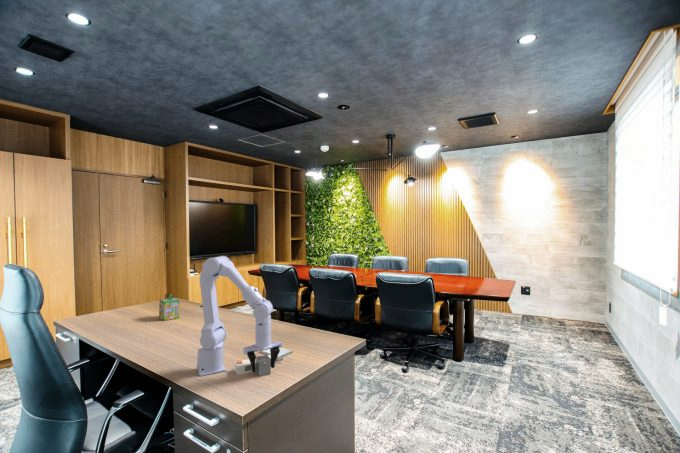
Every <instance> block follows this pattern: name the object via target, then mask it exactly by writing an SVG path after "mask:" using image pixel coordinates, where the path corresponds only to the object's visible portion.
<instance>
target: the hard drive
mask: <svg viewBox="0 0 680 453" xmlns="http://www.w3.org/2000/svg"><path fill="white" fill-rule="evenodd" d="M279 349H280V352H279V354H278V356H277V358H276V359H278V358H284V357H287V356H289V355H292V354H293V353H294V351H293V350H289V349H288V348H285V347H282V348H279ZM259 353H260V354H263V355H271V353H270V349H268V350H262V351H259Z"/></svg>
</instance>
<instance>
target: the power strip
mask: <svg viewBox="0 0 680 453" xmlns="http://www.w3.org/2000/svg"><path fill="white" fill-rule="evenodd" d="M268 357H269V358H270V359H271V355H268ZM283 360H284V357H282V358H276V361H275V365H274V368H275V367H276V366H277V362H280V361H283ZM233 364H234V365H233V366H234V369H233V370H234V372H235V374H236V375H237V376H239V375H244V374H248V373H254V372H253V371H252V367H251V363H250V360H249V358H248V359H243V360H242V359H239V360H236V361H234V363H233ZM271 369H273V368H272V367H271ZM255 372H256V359H255Z"/></svg>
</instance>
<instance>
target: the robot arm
mask: <svg viewBox="0 0 680 453" xmlns="http://www.w3.org/2000/svg"><path fill="white" fill-rule="evenodd" d="M201 266H202V269H201V272H200V274H199V288H200V295H201V303H202V312H203V320H204V324H203V326H202V328H201V331H200V332H201V334H200V335H201V336H200V339H199V342H200V345H201V347H200V348H198V349H197V354H196V355H197V364H196V369H197V371H198V375H199V377H202V376H207V375H210V374H216V373H220V372H225V371H227V369H226V367H225V365H224V341H225V340H226V338H227V335H228V334H227V330H226V329H225V327H224V323H223V322H222V321H221V320H220V314H219V306H218V305H219V304H218V295H217V288H216V287H217V286H216V280H217V279H218V278H219V277H226V278H228V279H229V280H230V281H231V282H232V283H233V285H234V286H236V288H238V289H239V291H240V292H241V297H242V299H243V300H244V301H245V303H247V304H248V306H249V307H250V308H251V309H252V310H253V311H252V315H253V316H254V317H255V344H252V345H248V346H245V347H243V348H242V350H243V354H244V355H246V356H247V357H248V359H249V360H250V363H251V367H252V371H253V372H252V373H256V371H255V359H256V357H257V355H256V353H255V352H260V351H262V350H268V349H270V353H271V367H272V368H271V369H274V368H275V367H274V365H275V361H276V359H278V358H277V356H278V354H279V352H280V349H279V348H283V342H282V341H281V340H279V341H272V315H271V313H273V311H274V306H273V303H272V302H271V301H270V300H267V299H266V298H265V297H263V295H262V294H261V293H260V292H259V289H258V288H257V287H255V286H253V285H249V284H248V283H247V281H246V280H245V278H244V277H243V276H242V275H241V273H240V271H238V269H237V268H236V267H235V264H234V262H233V261H231V260H230V258H229V257H227V256H226V255H220V256H216V257H215V256H214V257H208V258H207V259H206V260H205V261H204V262H203V263H201ZM276 362H277V361H276Z"/></svg>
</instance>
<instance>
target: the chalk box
mask: <svg viewBox="0 0 680 453" xmlns="http://www.w3.org/2000/svg"><path fill="white" fill-rule="evenodd" d="M158 303H159V307H158V308H159V309H158V310H159V311H158V312H159V313H158V318H159V319H160V320H161V319H162V320H161V321H163V320H166V321H170V320H169V319H172V320H176V319H175V318H179V319H180V299H178V298H176V297H173V294H172V293H169V295H168V298H163V299H160V298H159V302H158Z"/></svg>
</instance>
